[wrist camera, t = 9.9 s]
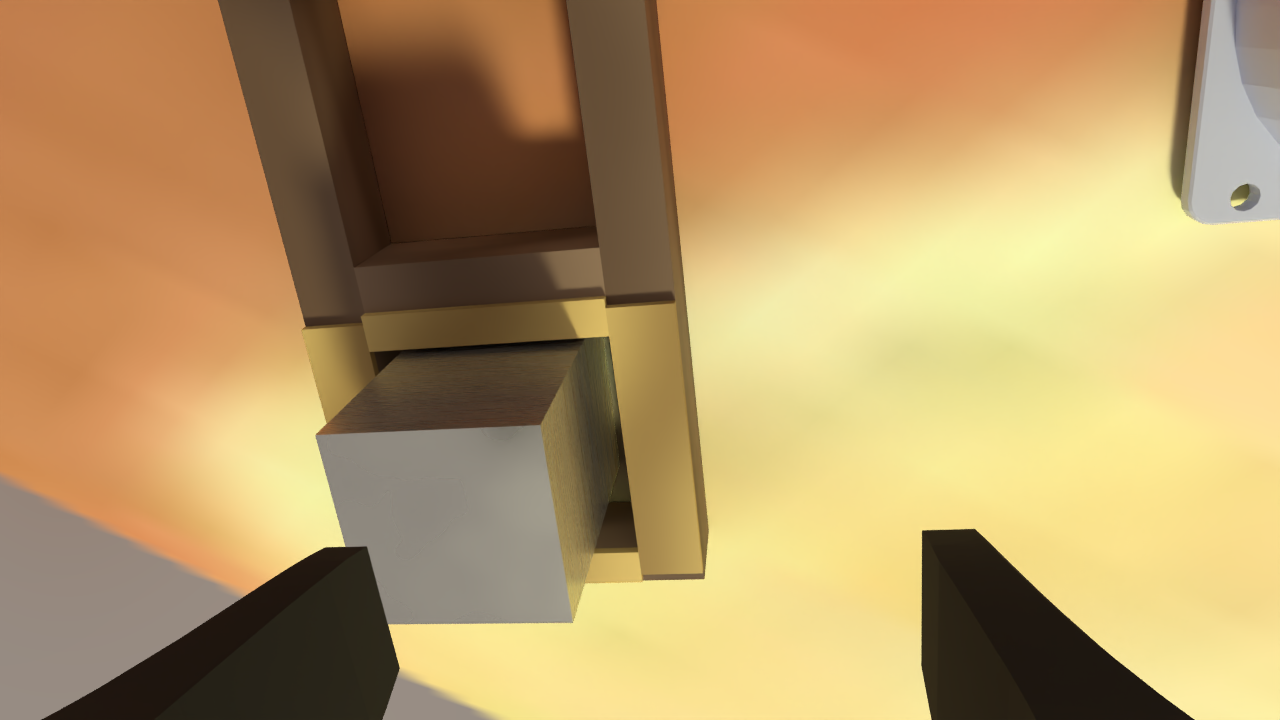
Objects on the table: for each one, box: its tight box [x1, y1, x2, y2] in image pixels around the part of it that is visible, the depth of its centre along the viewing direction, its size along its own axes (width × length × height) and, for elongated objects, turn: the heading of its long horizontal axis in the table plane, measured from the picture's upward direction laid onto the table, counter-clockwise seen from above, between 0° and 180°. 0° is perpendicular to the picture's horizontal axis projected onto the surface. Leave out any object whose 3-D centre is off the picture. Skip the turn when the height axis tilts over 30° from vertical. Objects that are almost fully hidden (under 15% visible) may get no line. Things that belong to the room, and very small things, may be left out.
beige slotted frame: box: [218, 0, 709, 583], centre depth 17 cm, size 8×21×2 cm, turn 7°
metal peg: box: [315, 337, 620, 624], centre depth 18 cm, size 4×4×6 cm
